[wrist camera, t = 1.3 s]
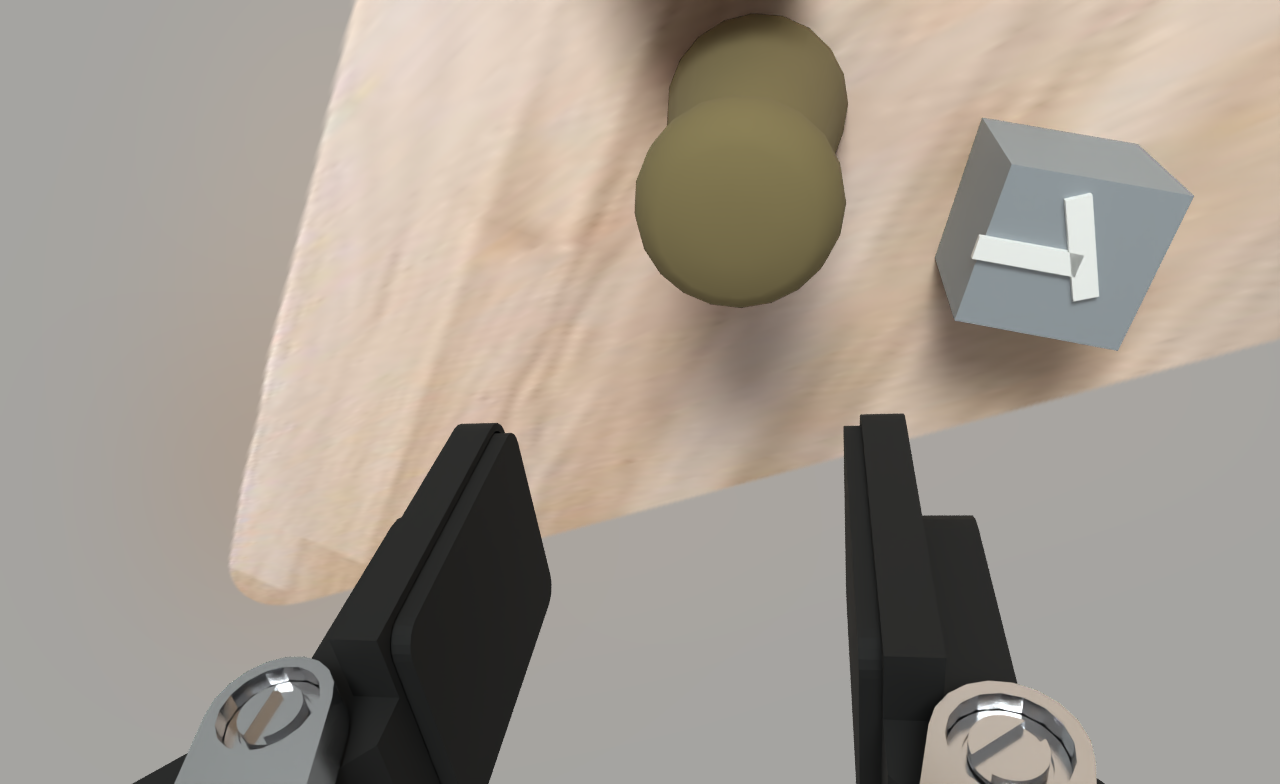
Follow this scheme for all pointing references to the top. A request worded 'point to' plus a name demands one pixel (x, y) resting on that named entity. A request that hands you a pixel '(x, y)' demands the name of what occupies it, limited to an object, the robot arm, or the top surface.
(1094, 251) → the slate numeral block
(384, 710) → the robot arm
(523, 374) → the top surface
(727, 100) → the cork
